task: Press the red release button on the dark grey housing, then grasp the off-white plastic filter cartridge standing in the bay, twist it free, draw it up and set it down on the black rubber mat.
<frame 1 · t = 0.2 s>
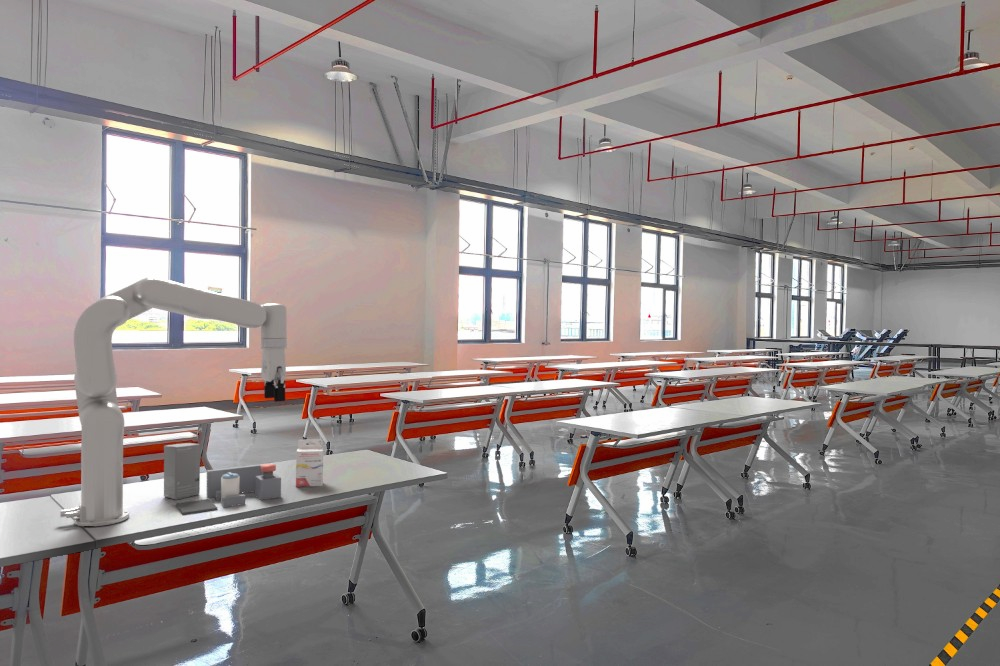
hand: (274, 399, 199), 30 cm above the table, tool pointing down, fingers open, 9 cm apart
mat: (196, 507, 186), on the table
skincare box: (181, 496, 198), on the table
housing: (247, 499, 195), on the table
cartridge: (230, 501, 192), on the table
ink cartridge box: (309, 485, 214), on the table
plunger: (268, 475, 199), point 6 cm above the table, slide at 0.0 cm
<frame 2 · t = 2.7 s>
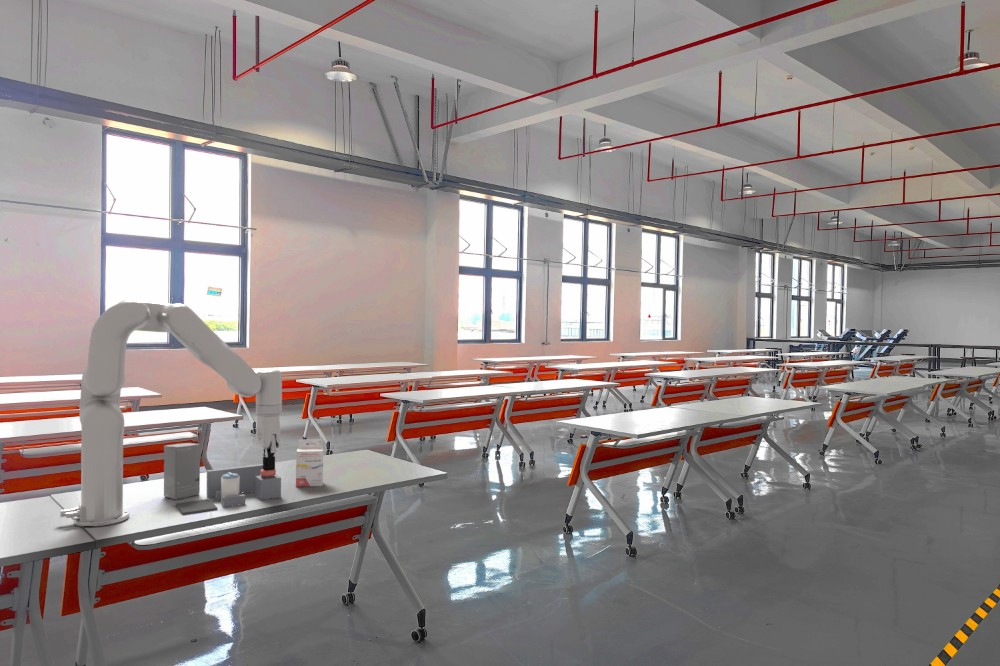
hand: (269, 469, 199), 8 cm above the table, tool pointing down, fingers closed
plunger: (268, 479, 199), point 5 cm above the table, slide at 1.3 cm, touching gripper
everything else where it was.
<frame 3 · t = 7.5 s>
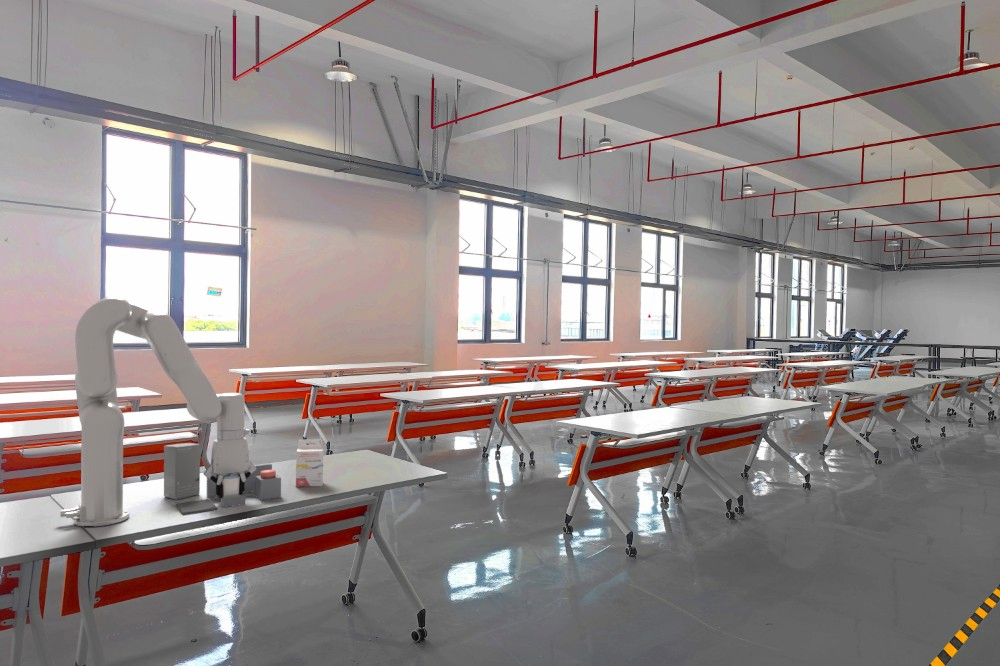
hand: (230, 495, 192), 2 cm above the table, tool pointing down, fingers closed on cartridge, 5 cm apart
cartridge: (230, 501, 192), on the table, touching gripper
plunger: (268, 481, 199), point 5 cm above the table, slide at 1.8 cm
everything else where it was.
when the fingers open (4 cm above the table, at t = 14.6 s): cartridge drops 1 cm, resting on mat.
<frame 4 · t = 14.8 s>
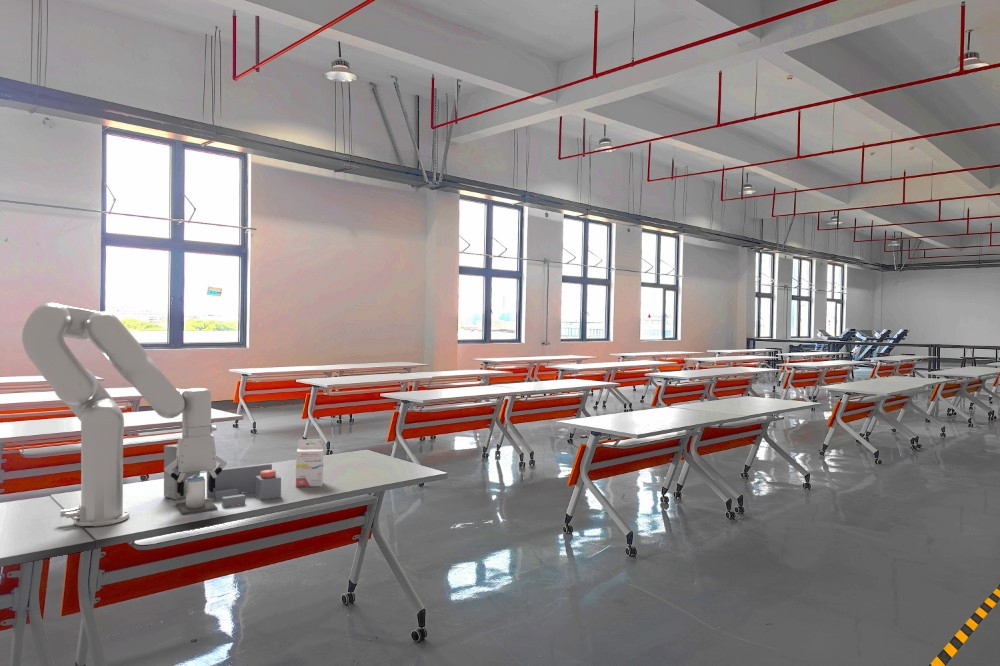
hand: (196, 492, 186), 4 cm above the table, tool pointing down, fingers open, 7 cm apart
cartridge: (195, 505, 186), point 1 cm above the table, touching mat
everything else where it was.
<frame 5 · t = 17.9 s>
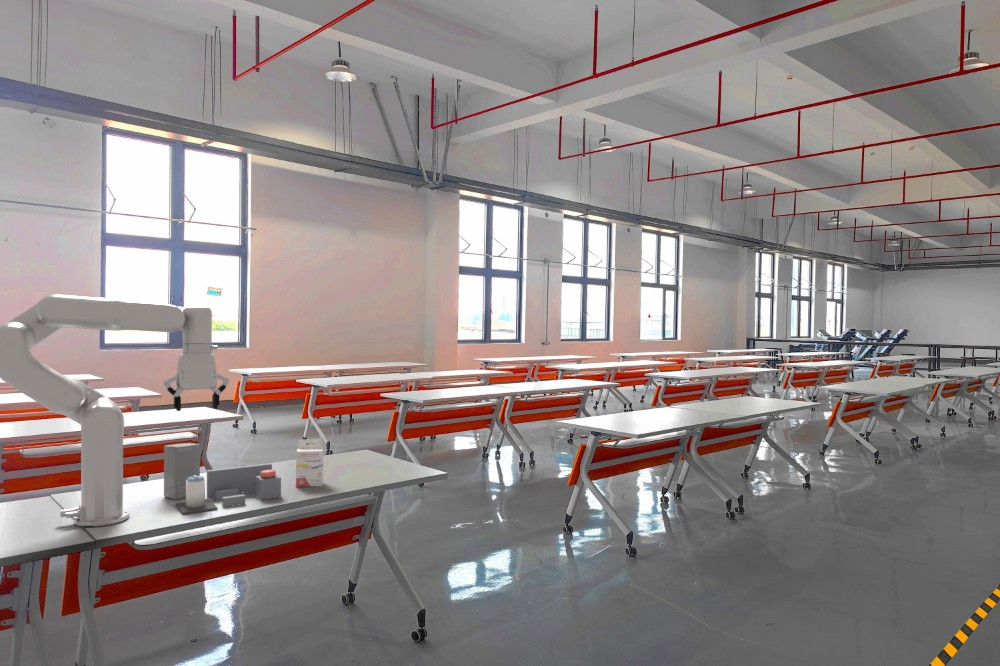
hand: (196, 409, 185), 28 cm above the table, tool pointing down, fingers open, 9 cm apart
nothing on the table moved.
at the end: plunger slide at 1.8 cm; cartridge inside the target area on the mat (0.2 cm from its centre), point 0.6 cm above the mat's base; cartridge tilted 0° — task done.
